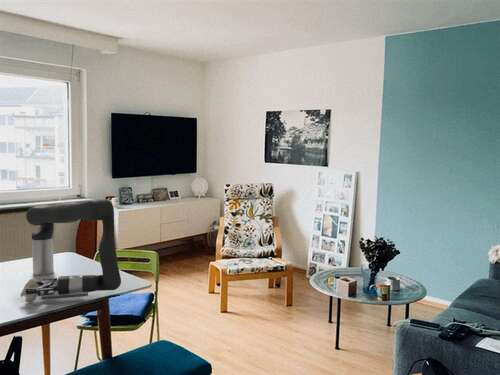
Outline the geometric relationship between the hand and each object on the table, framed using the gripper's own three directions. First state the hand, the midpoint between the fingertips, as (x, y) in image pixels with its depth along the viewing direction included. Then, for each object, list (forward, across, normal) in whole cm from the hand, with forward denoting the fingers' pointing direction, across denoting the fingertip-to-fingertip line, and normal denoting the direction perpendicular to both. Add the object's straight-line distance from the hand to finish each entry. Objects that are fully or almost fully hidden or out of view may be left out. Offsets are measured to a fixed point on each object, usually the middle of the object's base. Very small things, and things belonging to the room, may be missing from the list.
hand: (27, 288), depth 182 cm
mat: (-13, -14, +6) cm, 20 cm away
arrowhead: (-1, 0, +6) cm, 7 cm away
